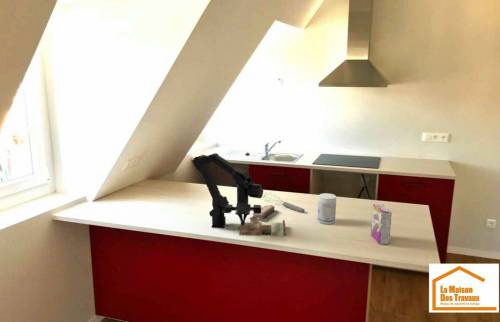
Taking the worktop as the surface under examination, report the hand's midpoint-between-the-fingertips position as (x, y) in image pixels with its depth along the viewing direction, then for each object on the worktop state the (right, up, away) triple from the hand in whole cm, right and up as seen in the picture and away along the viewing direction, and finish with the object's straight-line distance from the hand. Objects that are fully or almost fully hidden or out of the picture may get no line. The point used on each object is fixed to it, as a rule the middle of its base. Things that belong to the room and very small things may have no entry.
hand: (242, 224), depth 191 cm
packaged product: (+12, +1, +21) cm, 24 cm away
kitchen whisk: (+24, +4, +37) cm, 44 cm away
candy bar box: (+66, -6, -11) cm, 67 cm away
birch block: (+6, -1, 0) cm, 6 cm away
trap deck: (+10, -3, 0) cm, 10 cm away
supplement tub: (+45, -1, +12) cm, 47 cm away
